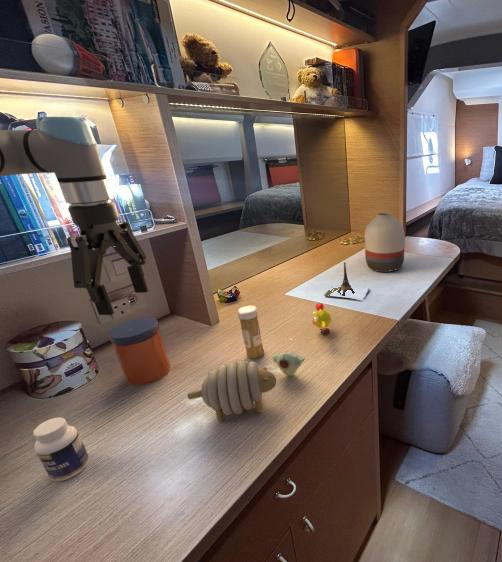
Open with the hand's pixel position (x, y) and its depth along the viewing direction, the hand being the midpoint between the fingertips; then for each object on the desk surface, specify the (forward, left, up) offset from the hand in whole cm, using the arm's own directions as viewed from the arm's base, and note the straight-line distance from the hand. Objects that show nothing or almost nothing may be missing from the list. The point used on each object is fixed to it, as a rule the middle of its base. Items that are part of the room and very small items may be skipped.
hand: (125, 302), depth 76 cm
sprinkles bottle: (+22, +12, -20) cm, 32 cm away
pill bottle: (+7, -25, -20) cm, 33 cm away
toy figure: (+36, +26, -20) cm, 48 cm away
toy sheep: (+29, -7, -20) cm, 36 cm away
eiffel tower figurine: (+36, +53, -20) cm, 67 cm away
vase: (+45, +82, -20) cm, 96 cm away
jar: (0, 0, -19) cm, 19 cm away
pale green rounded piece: (+35, +5, -20) cm, 40 cm away
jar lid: (0, 0, -7) cm, 7 cm away
